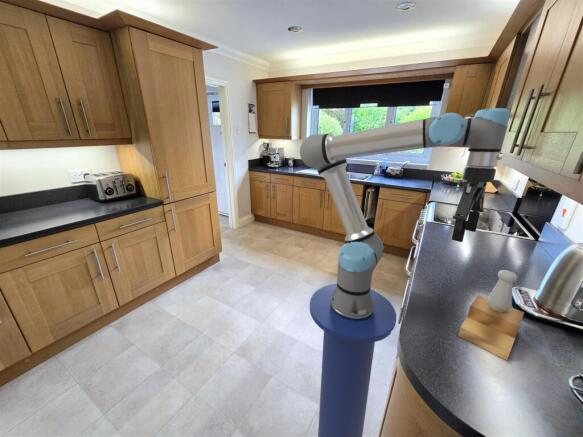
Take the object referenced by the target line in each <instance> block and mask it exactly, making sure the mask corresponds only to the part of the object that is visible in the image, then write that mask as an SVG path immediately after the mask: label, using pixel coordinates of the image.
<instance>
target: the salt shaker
mask: <svg viewBox="0 0 583 437" xmlns="http://www.w3.org/2000/svg"><path fill="white" fill-rule="evenodd" d="M497 278H498V280H497V282H496V284H495V285H494V287H493V288H492V289H491V292H490V293H489V295H488V297H487V299H488V302H489V306H490V307H491V308H492V309H493V310H495V311H498V312H505V311H507V310H508V309H509V308H510V307H511V308H512V304H513V287H514V286H513V285H514V282H516V281H517V279H518V276H517V274H516V273H515V272H513V271H510V270H507V269H501V270H499V271H498V273H497Z"/></svg>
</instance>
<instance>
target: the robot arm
mask: <svg viewBox="0 0 583 437" xmlns="http://www.w3.org/2000/svg"><path fill="white" fill-rule="evenodd" d="M475 112H476V113H475V115H474V117H468V118H467V117H463V116H462V115H460V114H458V113H455V112H446V113H442V114H440V115H438V116H437V115H436V116H433V117H428V118H421V119H415V120H411V121H405V122H400V123H395V124H389V125H384V126H378V127H372V128H368V129H363V130H358V131H352V132H347V133H342V134H336V135H335V134H334V133H332V132H329V133H328V132H327V133H321V134H317V133H316V134H311V135H309V136H307V137H306V138H305V139H304V140H303V141H302V142H301V145H300V148H299V156H300V159H301V161H302V162H303V163H304V164H305V166H307V167H309V168H312V169H316V171H317V173H318V176H319V177H322V178H323V179H324V181H325V183H326V185H327V188H328V191H329V193H330V196H331V198H332V201H333V203H334V206H335V208H336V212H337V214H338V216H339V218H340V221H341V225H342V226H343V229H344V232H345V234H346V235H345V237H344V242H345V244H343V245H342V246H341V247H340V248H339V252H338V257H337V260H338V261H337V262H338V263H337V279H336V284H337V286H336V288H335V290H334V293H333V295H332V297H331V308H332V310H333V311H334V312H335V313H336V314H337V315H339V316H341V317H343V318H345V319H348V320H355V321H359V320H365V319H367V318H369V317H370V316H371V315H372V314H373V309H374V305H373V301H372V296H371V292H370V289H371V288H372V286H371V285H372V279H373V278H372V277H373V273H374V271H375V269H376V267H377V266H378V264H379V262H380V261H381V259H382V258H383V254H384V243H383V242H382V240H381V238H380V237H379V236H378V235H377V234H376V233H375V230H374V229H373V228H372V227H370V226H368V222H367V221H366V218H365V216H364V213H363V211H362V208H361V205H360V203H359V201H358V198H357V195H356V193H355V190H354V188H353V185H352V182H351V180H350V178H349V175H348V173H347V170H346V169H347V166H348V161H347V159H354V158H360V157H361V158H362V157H368V156H377V155H384V154H390V153H391V154H392V153H398V152H405V151H414V150H420V149H431V148H438V147H449V146H468V149H467V153H466V158H465V162H464V166H465V167H464V168H463V172H462V175H461V176H462V177H461V179H462V180H463V181H466V182H468V185H467V184H466V185H465V184H464V186H463V189H462V192H461V196H460V199H459V201H458V204H457V207H456V210H455V213H454V215H452V220H455V221H454V226H453V230H452V235H451V241H454V242H459V243H463V242H464V237H465V234H466V231H468V232H473V233H476V232H477V227H478V224H479V219H480V216H481V215H480V214H481V213H484V212H485V209H484V204H485V197H486V196H485V195H486V188H487V185H488V183H492V182H493V181H495V177H496V172H497V169H496V168H497V167H498V163H499V160H502V159H503V156H502V155H501V152H502V149H503V145H504V141H505V139H506V138H505V137H506V134H507V130H508V127H509V120H510V115H511V112H510V110H509V109H508V108H505V107H504V108H503V107H502V108H500V107H495V108H484V109H479V110H477V111H475Z"/></svg>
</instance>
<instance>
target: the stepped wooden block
mask: <svg viewBox="0 0 583 437" xmlns="http://www.w3.org/2000/svg"><path fill="white" fill-rule="evenodd" d="M524 315H525V312H524V311H521V310H519V309H516V308H514V307H512V306H511V307H510V308H509V309H508V310H507V311H505V312H498V311H495V310H493V309H492V308H491V307H490V306H489V302H488V297H484V296H482V295H479V294H477V295H476V297H475V298H474V300H473V301H472V302H471V304H470V305H469V308H468V313H467V317H466V318H465V319H464V321H463V323H462V324H461V326H459V327H460V328H459V331H458V335H457V336H458V337H460V338H461V339H463V340H466V341H467V342H469V343H471V344H474V345H475V346H478V347H479V348H481V349H483V350H485V351H487V352H489V353H491V354H493V355H495V356H497V357H499V358H501V359H503V360H505V361H508V359H509V357H510V354H511V351H512V348H513V346H514V343H515V341H516V338H517V336H518V332H519V329H520V326H521V324H522V320H523V318H524Z"/></svg>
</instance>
